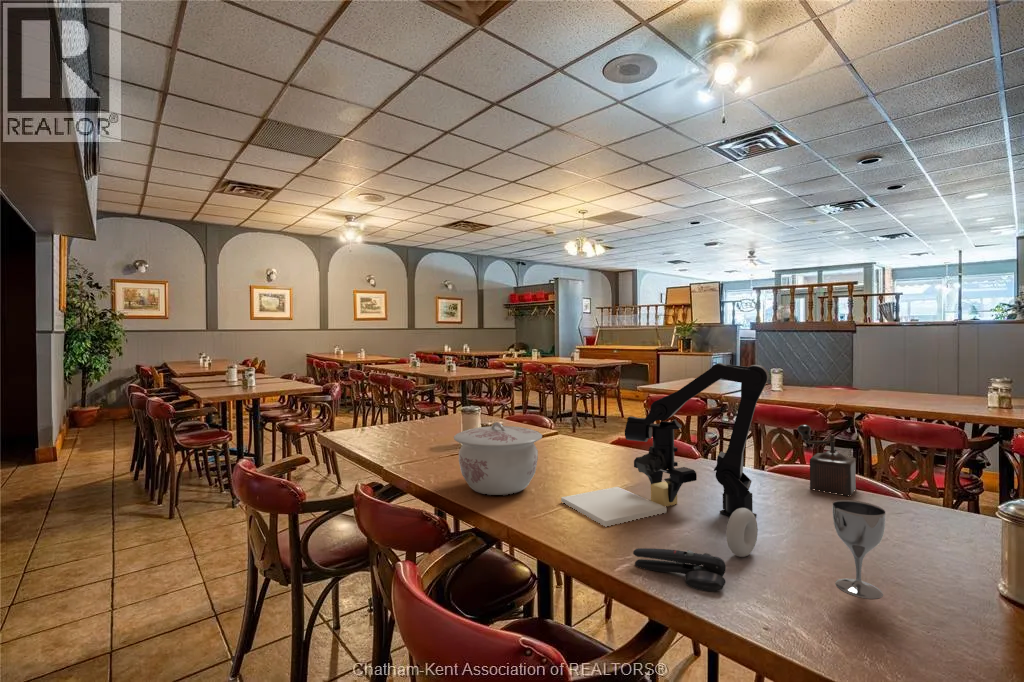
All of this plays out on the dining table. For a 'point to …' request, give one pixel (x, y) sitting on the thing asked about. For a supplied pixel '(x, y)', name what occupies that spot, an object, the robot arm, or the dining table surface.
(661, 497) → the cube
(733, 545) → the donut
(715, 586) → the can opener
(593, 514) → the board
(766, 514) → the dining table surface
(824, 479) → the coffee grinder
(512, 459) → the chamber pot
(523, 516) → the dining table surface
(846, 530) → the wine glass
